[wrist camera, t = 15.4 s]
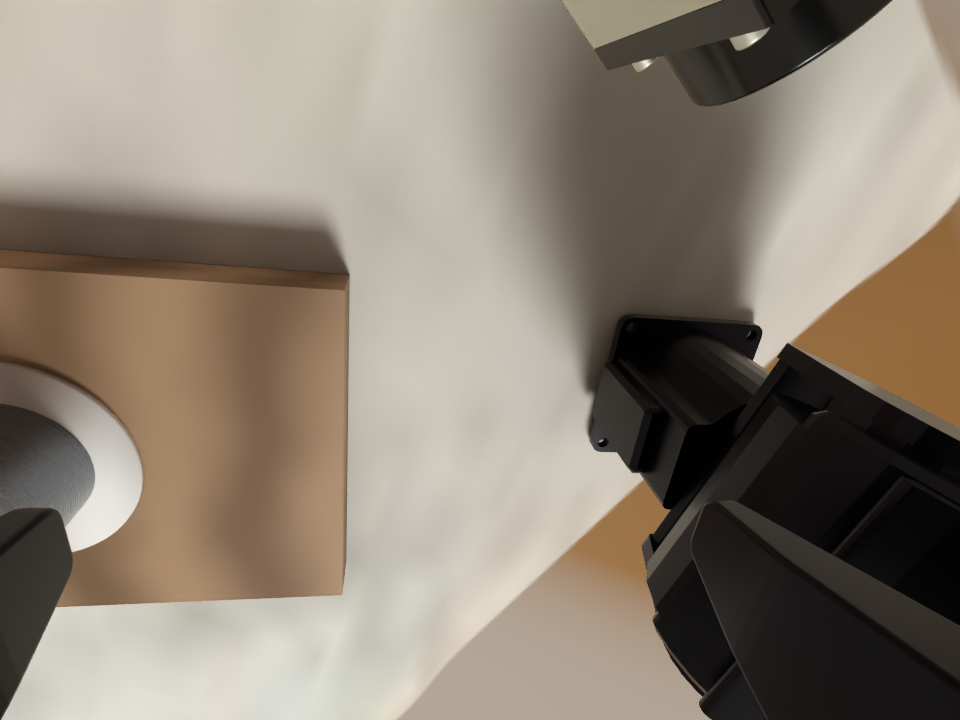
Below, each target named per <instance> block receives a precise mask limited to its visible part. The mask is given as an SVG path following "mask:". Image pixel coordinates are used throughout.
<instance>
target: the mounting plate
mask: <svg viewBox="0 0 960 720" xmlns="http://www.w3.org/2000/svg"><path fill="white" fill-rule="evenodd" d="M348 357H349V275H348V274H334V273H320V272H306V271H292V270H278V269H264V268H250V267H237V266H223V265H209V264H195V263H181V262H167V261H153V260H139V259H126V258H112V257H98V256H84V255H70V254H56V253H42V252H28V251H15V250H1V249H0V404H6V405H12V406H17V407H21V408H25V409H28V410H31V411H34V412H37V413H39V414H41V415H44V416H46V417H48V418H50V419H52V420H53V421H55V422H57V423H59V424H60V425H61V426H63V427H64V428H66V429H67V430H68V431H69V432H71V433H72V434H73V435H74V436H75V437H76V438H77V439H78V440H79V441H80V442H81V443H82V445H83V446H84V447H85V449H86V450H87V452H88V454H89V456H90V458H91V460H92V463H93V465H94V470H95V484H94V489H93V491H92V494H91V496H90V497H89V499H88V500H87V502H86V503H85V504H84V505H83V507H82V508H81V509H80V510H79V511H78V513H77V514H76V515H75V516H74V518H73V519H72V520H71V521H70V522H69V524H68V525H67V526H66V527H65V529H66V533H67V537H68V540H69V544H70V547H71V551H72V555H73V567H72V572H71V575H70V577H69V580H68V582H67V584H66V586H65V588H64V590H63V593H62V595H61V597H60V599H59V601H58V603H57V605H56V607H69V606H93V605H117V604H140V603H164V602H188V601H212V600H235V599H259V598H283V597H307V596H330V595H342V592H343V584H344V575H345V566H346V529H347V443H348Z"/></svg>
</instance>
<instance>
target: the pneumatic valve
mask: <svg viewBox="0 0 960 720" xmlns="http://www.w3.org/2000/svg"><path fill="white" fill-rule="evenodd" d="M561 1H562V2H563V4H564V5H565V7H566V8H567V10H568V11H569V13H570V14H571V16H572V17H573V19H574V20H575V22H576V23H577V25H578V26H579V28H580V29H581V31H582V32H583V34H584V35H585V37H586V38H587V40H588V41H589V43H590V44H591V46H592V47H593V48H594V50H595V51H596V53H597V54H598V56H599V57H600V59H601V60H602V62H603V63H604V65H605V66H606V68H607V69H608V70H609V69H613V68H617V67H621V66H625V65H628V64H632V66H633V67H634V69H635V70H636V72H641V71H643V70H645V69H646V68H647V67H649V66H650V65H651V64H652V63H653V62H654V61H655V60H656V58H657V57H659V56H663V55H664V56H665V58H666V60H667V61H668V63H669V65H670V66H671V68H672V69H673V71H674V73H675V74H676V76H677V78H678V79H679V81H680V83H681V84H682V86H683V87H684V89H685V91H686V92H687V94H688V96H689V97H690V99H691V101H692V102H693V103H695V104H697V105H699V106H716V105H722V104H725V103H729V102H732V101H735V100H738V99H740V98H743V97H746V96H748V95H751V94H753V93H755V92H758V91H760V90H762V89H764V88H766V87H768V86H770V85H772V84H774V83H776V82H778V81H780V80H781V79H783V78H785V77H787V76H789V75H790V74H792V73H794V72H796V71H797V70H799V69H801V68H802V67H804V66H806V65H807V64H809V63H810V62H812V61H814V60H815V59H817V58H818V57H820V56H821V55H823V54H824V53H826V52H827V51H828V50H830V49H831V48H833V47H834V46H836V45H837V44H839V43H840V42H842V41H843V40H844V39H846V38H847V37H848V36H850V35H851V34H852V33H854V32H855V31H856V30H858V29H859V28H860V27H861V26H863V25H864V24H865V23H867V22H868V21H869V20H870V19H871V18H873V17H874V16H875V15H876V14H877V13H879V12H880V11H881V10H882V9H883V8H884V7H885V6H887V5H888V4H889V3H890V2H891V1H892V0H561Z"/></svg>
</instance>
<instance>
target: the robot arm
mask: <svg viewBox="0 0 960 720" xmlns="http://www.w3.org/2000/svg"><path fill="white" fill-rule="evenodd" d="M631 323H634V327H633V329H631V330H630V331H626V328H627V326H628V325H629V324H631ZM750 331H751V333H750V335H749V336H748V337H746V335H747V333H748V332H750ZM761 337H762V329H761V328H760V327H759V326H758V325H756V324H754V323H752V322H746V321H730V320H715V319H699V318H684V317H668V316H653V315H637V314H628V315H625V316H623V317H622V318H621V319H620V320H619V321H618V324H617V327H616V331H615V335H614V339H613V343H612V348H611V352H610V356H609V360H608V362H606V364H605V365H604V366H603V369H602V373H601V378H600V382H599V386H598V390H597V394H596V399H595V403H594V407H593V411H592V416H593V417H594V422H593V427H592V431H591V435H590V443H591V444H592V446H593V448H594V449H595V450H596V451H599V452H617V453H618V454H619V456H620V457H621V459H622V460H623V462H624V463H625V465H626V466H627V467H628V469H629V470H630V471H631V472H632V473H640V474H641V476H642V477H643V478H644V480H645V481H646V483H647V484H648V486H649V487H650V488H651V490H652V491H653V493H654V494H655V495H656V497H657V498H658V500H659V501H660V503H661V504H662V505H663V507H664V508H665V509H671V510H670V512H669V513H668V515H667V516H666V517H665V519H664V520H663V522H662V523H661V524H660V526H659V527H658V529H657V530H656V531H655V533H654V534H649V536H648V537H647V538H646V540H645V541H644V543H643V544H642V551H643V555H644V560H645V565H646V570H647V584H648V587H649V590H650V592H651V595H652V598H653V602H654V607H655V612H656V614H655V615H654V616H653V623H654V626H655V629H656V632H657V633H658V635H659V637H660V638H661V640H662V641H663V643H664V646H665V648H666V649H667V651H668V653H669V655H670V658H671V659H672V661H673V662H674V663H675V665H676V666H677V668H678V669H679V671H680V672H681V674H682V675H683V676H684V677H685V678H686V680H687V681H688V682H689V683H690V684H691V685H692V686H693V687H694V689H695V690H696V691H697V692H698V693H699V694H700V695H701V696H703V697H702V699H701V700H700V701H699V705H700V708H701V710H702V711H703V712H704V714H705V715H707V716H708V717H709V718H710V719H712V720H960V429H959V428H957V427H956V426H954V425H952V424H950V423H948V422H946V421H944V420H943V419H941V418H939V417H937V416H935V415H933V414H931V413H929V412H927V411H926V410H924V409H921V408H920V407H918V406H916V405H914V404H912V403H910V402H908V401H907V400H905V399H903V398H901V397H899V396H897V395H895V394H893V393H891V392H889V391H887V390H885V389H883V388H881V387H879V386H877V385H875V384H873V383H871V382H869V381H867V380H865V379H863V378H860V377H858V376H856V375H854V374H852V373H850V372H848V371H845V370H844V369H842V368H840V367H837V366H835V365H833V364H831V363H829V362H827V361H825V360H823V359H820V358H818V357H816V356H814V355H812V354H810V353H808V352H806V351H804V350H802V349H800V348H798V347H795V346H793V345H791V344H789V343H787V344H786V345H785V347H784V348H783V349H782V351H781V352H780V354H779V355H778V356H777V357H778V358H779V359H780V360H779V361H778V362H777V364H776V366H775V367H774V368H773V369H772V371H771V372H769V371H767V370H766V369H764V368H763V367H761V366H759V365H758V364H756V363H755V362H753V359H754V356H755V353H756V351H757V348H758V345H759V342H760V340H761ZM602 438H605V439H604V441H602V442H599V440H600V439H602ZM72 567H73V555H72V551H71V547H70V544H69V540H68V537H67V533H66V529H65V526H64V522H63V519H62V516H61V514H60V513H59V512H58V511H57V510H56V509H53V508H20V509H15V510H12V511H10V512H8V513H6V514H4V515H2V516H0V720H1V719H2V717H3V715H4V713H5V712H6V710H7V708H8V706H9V704H10V702H11V700H12V698H13V696H14V694H15V692H16V691H17V689H18V687H19V685H20V683H21V680H22V678H23V676H24V674H25V672H26V670H27V668H28V665H29V663H30V661H31V659H32V657H33V655H34V653H35V650H36V648H37V646H38V644H39V642H40V640H41V638H42V635H43V633H44V631H45V629H46V627H47V625H48V623H49V620H50V618H51V616H52V614H53V612H54V610H55V608H56V605H57V603H58V601H59V599H60V597H61V595H62V593H63V590H64V588H65V586H66V584H67V582H68V580H69V577H70V575H71V572H72Z"/></svg>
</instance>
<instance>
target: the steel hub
mask: <svg viewBox="0 0 960 720" xmlns="http://www.w3.org/2000/svg"><path fill="white" fill-rule="evenodd" d="M94 484H95V470H94V465H93V463H92V460H91V458H90V456H89V454H88V452H87V450H86V449H85V447H84V446H83V445H82V443H81V442H80V441H79V440H78V439H77V438H76V437H75V436H74V435H73V434H72V433H71V432H69V431H68V430H67V429H66V428H64V427H63V426H61V425H60V424H59V423H57V422H55V421H53V420H52V419H50V418H48V417H46V416H44V415H41V414H39V413H37V412H34V411H31V410H28V409H25V408H21V407H17V406H12V405H6V404H0V516H2V515H4V514H6V513H8V512H10V511H12V510H15V509H20V508H53V509H56V510H57V511H58V512H59V513H60V514H61V516H62V519H63V522H64V526H65V527H66V526H67V525H68V524H69V522H70V521H71V520H72V519H73V518H74V516H75V515H76V514H77V513H78V511H79V510H80V509H81V508H82V507H83V505H84V504H85V503H86V502H87V500H88V499H89V497H90V496H91V494H92V491H93V489H94Z"/></svg>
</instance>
